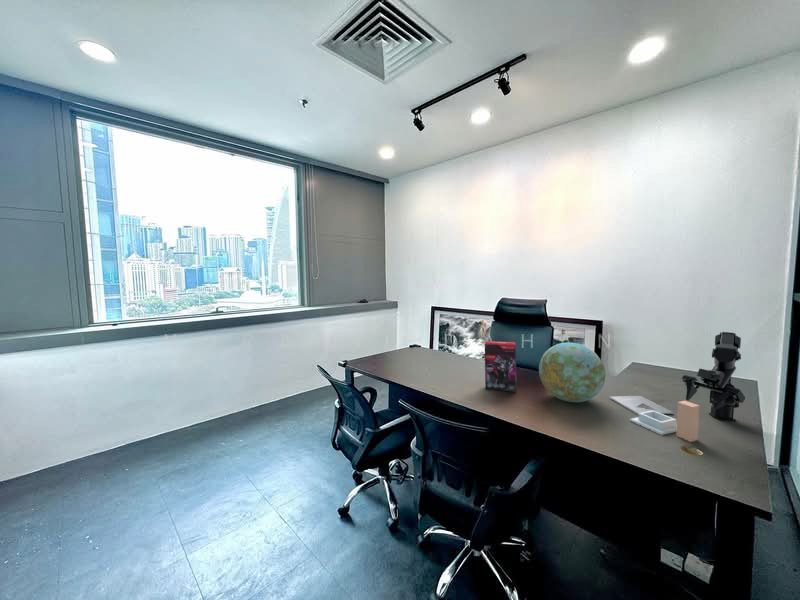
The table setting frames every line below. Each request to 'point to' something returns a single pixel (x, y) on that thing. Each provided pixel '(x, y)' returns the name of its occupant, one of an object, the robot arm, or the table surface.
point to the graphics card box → (500, 366)
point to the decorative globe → (572, 372)
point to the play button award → (639, 404)
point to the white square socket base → (656, 422)
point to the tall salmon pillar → (687, 421)
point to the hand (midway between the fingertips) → (700, 404)
